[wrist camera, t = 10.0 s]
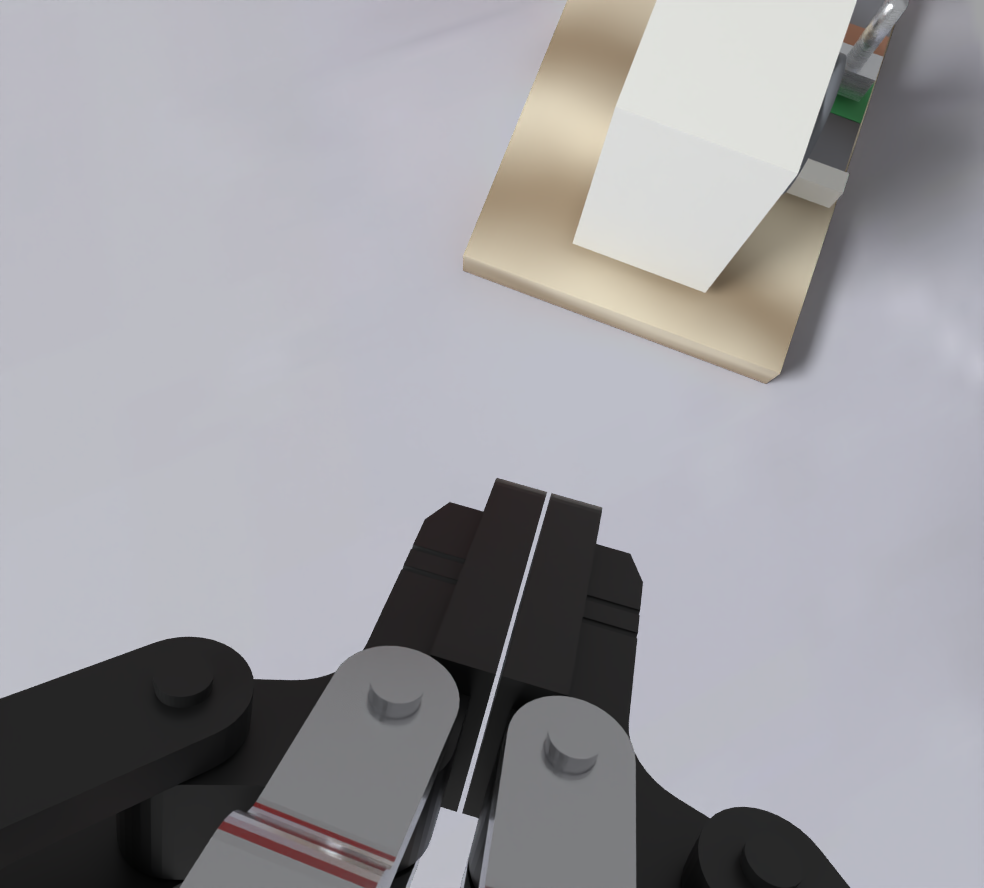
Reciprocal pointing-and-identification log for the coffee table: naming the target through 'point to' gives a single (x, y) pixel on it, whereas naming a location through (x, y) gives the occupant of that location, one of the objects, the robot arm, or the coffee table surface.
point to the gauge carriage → (715, 132)
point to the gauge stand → (614, 284)
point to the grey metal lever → (868, 51)
